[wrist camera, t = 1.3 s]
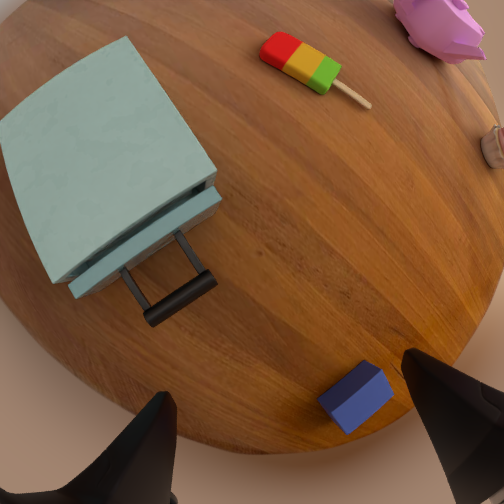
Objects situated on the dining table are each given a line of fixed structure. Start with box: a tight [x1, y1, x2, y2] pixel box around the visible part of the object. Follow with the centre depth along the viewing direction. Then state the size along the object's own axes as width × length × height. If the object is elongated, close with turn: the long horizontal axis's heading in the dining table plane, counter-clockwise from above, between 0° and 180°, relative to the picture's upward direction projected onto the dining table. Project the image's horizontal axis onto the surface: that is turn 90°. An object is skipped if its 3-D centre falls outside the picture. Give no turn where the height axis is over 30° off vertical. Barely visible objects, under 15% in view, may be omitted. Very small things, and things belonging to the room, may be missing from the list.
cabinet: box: [0, 36, 217, 284], centre depth 20 cm, size 16×14×8 cm
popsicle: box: [259, 32, 372, 110], centre depth 28 cm, size 6×15×2 cm, turn 61°
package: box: [317, 360, 394, 435], centre depth 26 cm, size 5×7×4 cm, turn 124°
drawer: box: [68, 186, 222, 327], centre depth 20 cm, size 20×13×6 cm, turn 34°
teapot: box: [393, 0, 486, 64], centre depth 27 cm, size 19×18×15 cm
